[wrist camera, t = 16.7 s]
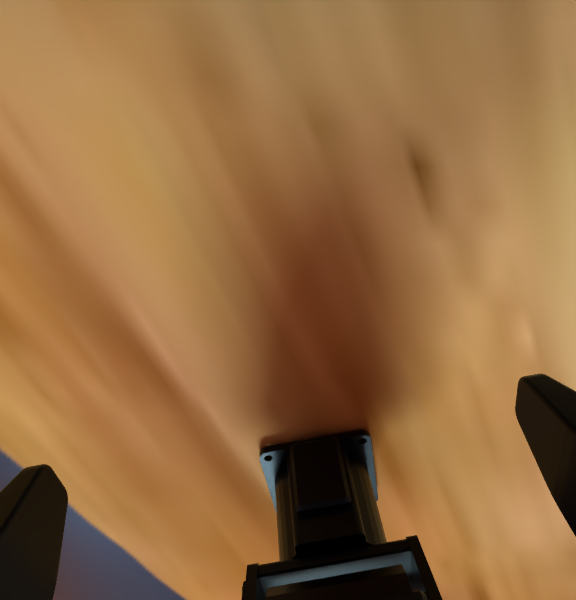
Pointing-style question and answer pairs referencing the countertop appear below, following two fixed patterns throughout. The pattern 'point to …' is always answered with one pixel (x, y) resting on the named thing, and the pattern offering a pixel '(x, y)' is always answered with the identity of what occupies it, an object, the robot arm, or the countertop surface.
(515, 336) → the countertop surface
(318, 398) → the countertop surface
